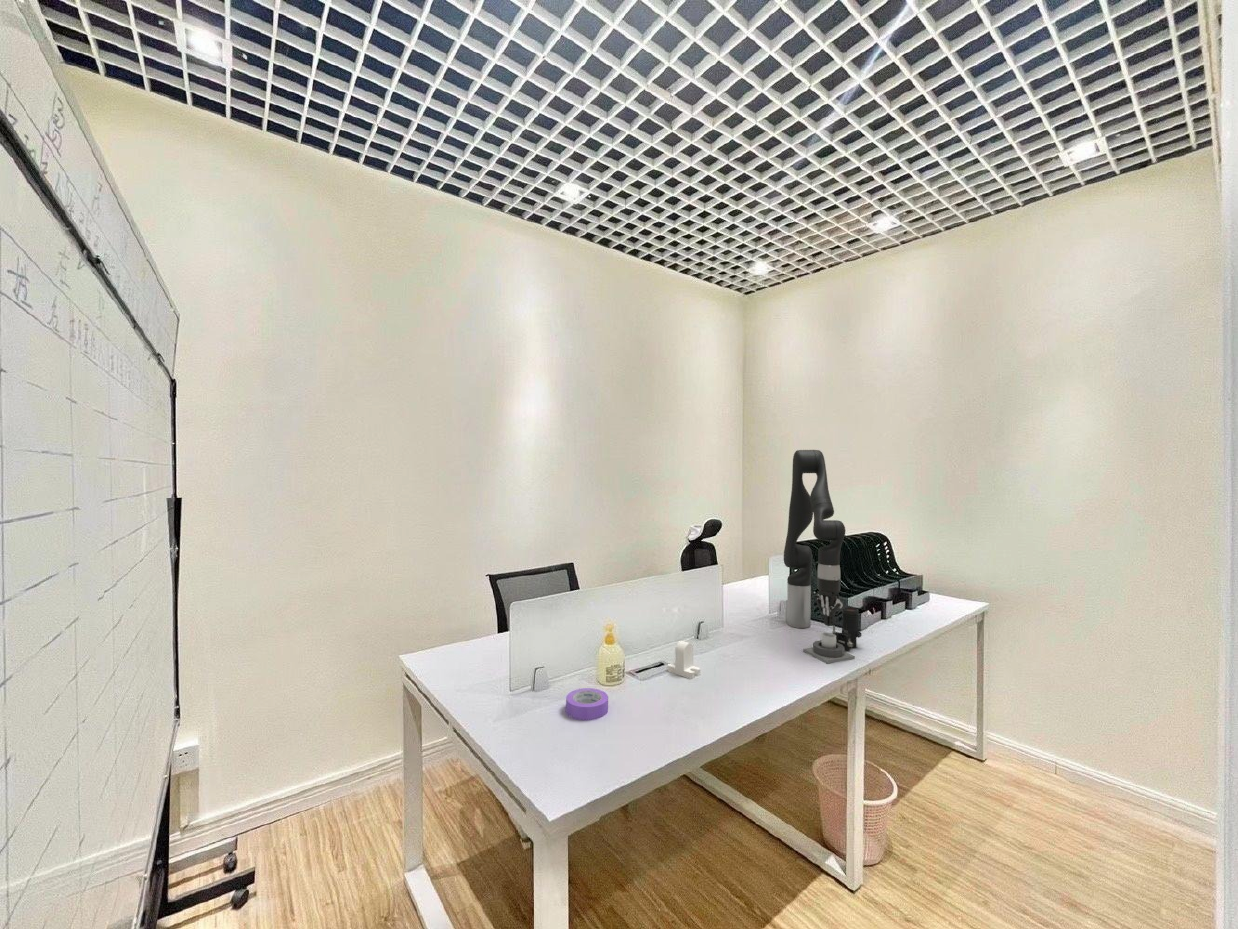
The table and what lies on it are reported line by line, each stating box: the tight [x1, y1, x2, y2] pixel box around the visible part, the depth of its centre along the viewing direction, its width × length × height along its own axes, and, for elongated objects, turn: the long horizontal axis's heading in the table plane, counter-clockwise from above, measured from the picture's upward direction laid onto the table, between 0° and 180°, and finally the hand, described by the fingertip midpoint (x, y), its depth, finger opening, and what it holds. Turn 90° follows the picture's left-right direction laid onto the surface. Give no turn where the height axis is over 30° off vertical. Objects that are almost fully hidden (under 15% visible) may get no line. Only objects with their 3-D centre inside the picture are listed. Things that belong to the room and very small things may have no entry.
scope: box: [831, 606, 862, 652], centre depth 193 cm, size 8×14×10 cm
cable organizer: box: [667, 640, 701, 680], centre depth 170 cm, size 5×10×10 cm, turn 47°
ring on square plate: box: [802, 639, 856, 665], centre depth 185 cm, size 12×12×4 cm
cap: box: [821, 632, 836, 649], centre depth 185 cm, size 5×5×6 cm
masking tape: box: [565, 687, 609, 721], centre depth 145 cm, size 12×12×4 cm
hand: (828, 625), depth 185 cm, fingers closed
